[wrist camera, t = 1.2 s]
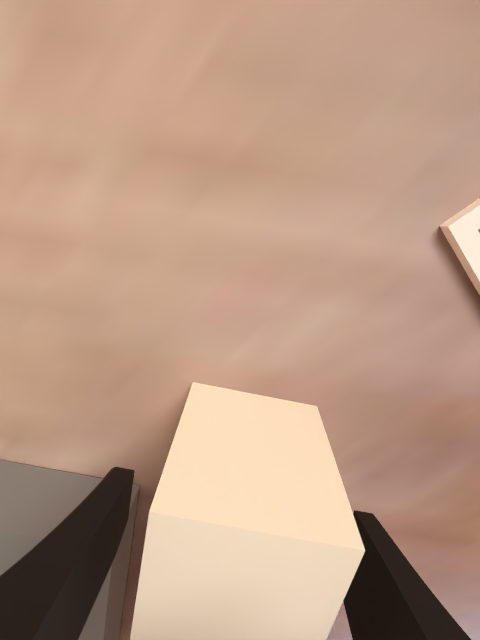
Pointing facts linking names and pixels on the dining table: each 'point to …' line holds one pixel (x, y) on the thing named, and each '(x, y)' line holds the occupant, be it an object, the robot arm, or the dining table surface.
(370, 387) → the dining table surface
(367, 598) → the robot arm
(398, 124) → the dining table surface
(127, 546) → the base plinth
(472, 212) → the photo frame
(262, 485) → the cream block
